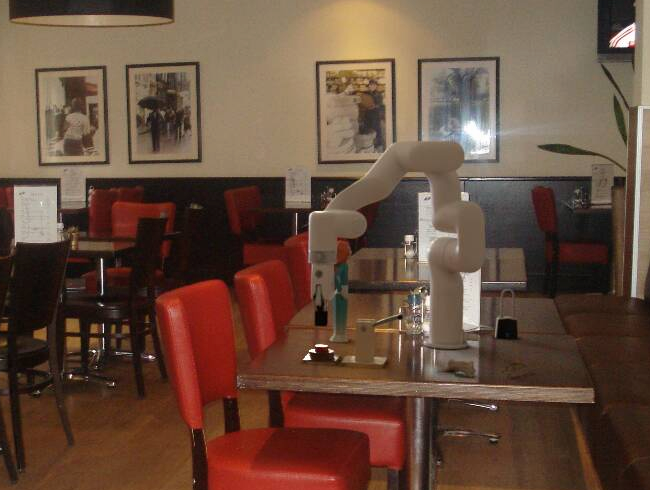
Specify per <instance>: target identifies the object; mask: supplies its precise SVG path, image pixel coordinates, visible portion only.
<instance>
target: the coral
mask: <svg viewBox="0 0 650 490" xmlns="http://www.w3.org/2000/svg"><path fill="white" fill-rule="evenodd" d="M434 365H435V367H436V370H438V371H439V372H441V373H446V372H447V373H448V372H451V371H452V372H455V373H460V372H461V373H462V374H465V375H466V376H468V378H472V377H474V376H475V374H476V372H477V370H476V369H475V362H474V360H468V361H465V360H464V361H463V360H460V361H459V360H455V359H453V358H448V361H447V363H445V362H442V361H441V360H438V359H436V360H435V362H434Z"/></svg>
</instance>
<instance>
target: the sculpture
mask: <svg viewBox="0 0 650 490" xmlns="http://www.w3.org/2000/svg"><path fill="white" fill-rule="evenodd" d="M352 253H353V251H352V250H351V247H350V243H349V242H347V241H344V240H337V263H336V264H334V268H337V270H336V272H334V287H335V289H334V292H335V295H334V298H332V309H333V310H332V317H333V318H332V319H333V326H332V327H333V333H332V335H331V337H330V338H329V339H328V340H329V341H330V342H332V343H348V342H349V341H350V340H349V338H348V335H347V327H348V310H349V309H348V307H349V265H348V264H347V263H345V261H346V260H347V259H352Z"/></svg>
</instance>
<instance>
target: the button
mask: <svg viewBox="0 0 650 490" xmlns="http://www.w3.org/2000/svg"><path fill="white" fill-rule="evenodd" d="M314 349H315V352H329V349H330V347H329V345H328V344H316V345H314Z"/></svg>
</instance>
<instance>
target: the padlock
mask: <svg viewBox="0 0 650 490" xmlns="http://www.w3.org/2000/svg"><path fill="white" fill-rule="evenodd" d="M506 292H510V293H511V315H510V316H507V315H503V314H504V313H503V311H504V295H505V293H506ZM515 299H516V297H515V292H514V290H513V289H511V288H504V289H503V290H502V291H501V294H500V306H499V307H500V308H499V310H500V311H499V316H497V317H496V320H495V331H494V338H495V339H499V340H519V338H520V337H519V320H518V318H517V317H516V315H515V308H516V307H515V305H516V304H515V303H516V301H515Z"/></svg>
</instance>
